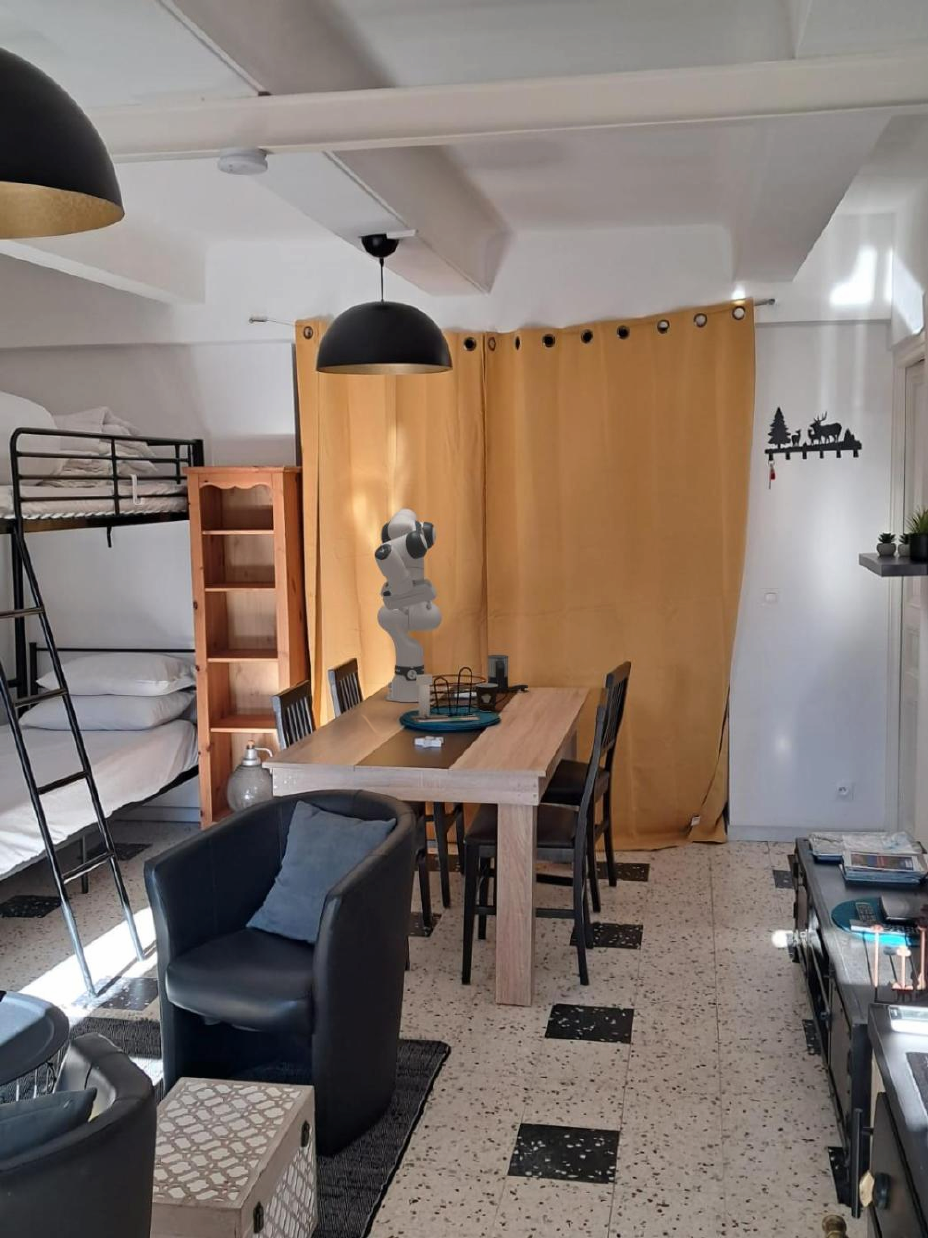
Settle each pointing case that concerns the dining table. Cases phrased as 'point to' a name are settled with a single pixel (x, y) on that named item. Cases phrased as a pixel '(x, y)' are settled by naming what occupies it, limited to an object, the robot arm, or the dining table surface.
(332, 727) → the dining table surface
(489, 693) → the coffee mug
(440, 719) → the tuner board
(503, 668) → the milk frother
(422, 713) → the peg
